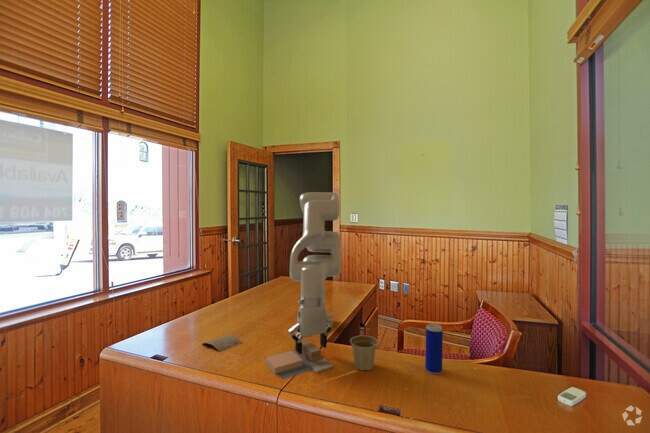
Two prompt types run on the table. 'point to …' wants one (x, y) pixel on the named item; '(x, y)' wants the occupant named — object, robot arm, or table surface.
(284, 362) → the tile
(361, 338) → the flower pot
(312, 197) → the robot arm
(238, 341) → the clay tablet
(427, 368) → the beverage can
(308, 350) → the brown piece
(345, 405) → the table surface
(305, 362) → the mat
